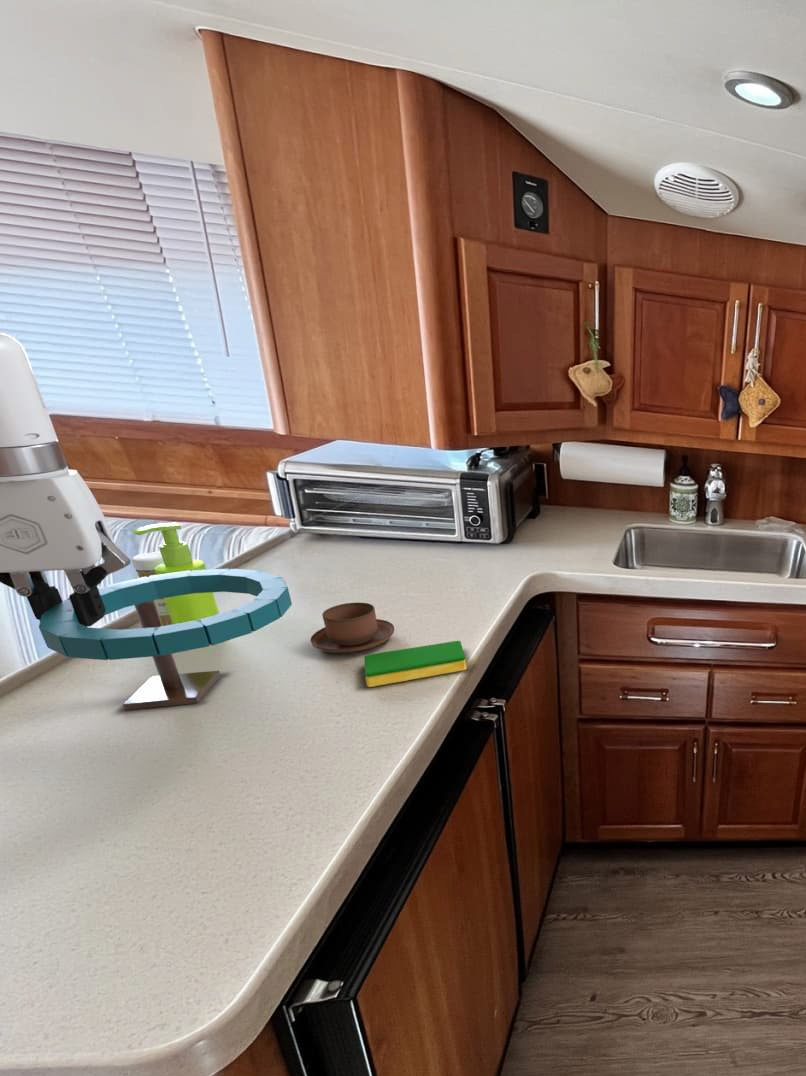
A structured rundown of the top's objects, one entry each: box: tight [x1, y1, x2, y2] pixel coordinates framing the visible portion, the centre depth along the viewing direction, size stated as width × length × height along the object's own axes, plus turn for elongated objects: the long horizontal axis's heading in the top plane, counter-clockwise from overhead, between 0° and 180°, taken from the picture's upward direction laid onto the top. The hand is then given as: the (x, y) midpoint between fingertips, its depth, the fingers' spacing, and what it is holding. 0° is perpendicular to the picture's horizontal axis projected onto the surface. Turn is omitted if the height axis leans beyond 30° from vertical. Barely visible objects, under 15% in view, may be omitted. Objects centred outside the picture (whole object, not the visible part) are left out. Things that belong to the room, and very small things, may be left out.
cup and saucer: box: [310, 602, 395, 654], centre depth 109 cm, size 12×12×6 cm
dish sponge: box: [364, 640, 468, 688], centre depth 104 cm, size 7×14×2 cm, turn 123°
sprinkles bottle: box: [131, 551, 173, 626], centre depth 107 cm, size 5×5×14 cm
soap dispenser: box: [131, 522, 220, 624], centre depth 104 cm, size 6×7×20 cm
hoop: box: [38, 568, 293, 661], centre depth 75 cm, size 21×21×2 cm
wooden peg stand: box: [122, 600, 221, 711], centre depth 90 cm, size 8×8×16 cm
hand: (74, 621), depth 72 cm, fingers closed on hoop, 2 cm apart
